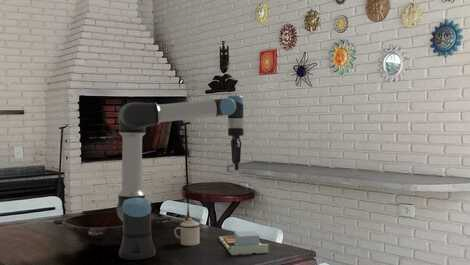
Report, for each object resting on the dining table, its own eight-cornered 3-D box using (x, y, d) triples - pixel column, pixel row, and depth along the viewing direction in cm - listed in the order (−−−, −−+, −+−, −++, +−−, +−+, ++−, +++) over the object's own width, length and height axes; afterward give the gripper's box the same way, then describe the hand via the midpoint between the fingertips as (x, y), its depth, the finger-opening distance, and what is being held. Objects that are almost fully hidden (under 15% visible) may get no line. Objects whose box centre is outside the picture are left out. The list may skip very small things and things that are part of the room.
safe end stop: (231, 254, 213) (231, 246, 213) (267, 251, 216) (267, 243, 216) (231, 255, 212) (231, 246, 212) (268, 252, 215) (268, 244, 215)
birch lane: (218, 238, 240) (218, 236, 240) (251, 236, 244) (251, 234, 244) (231, 254, 213) (231, 251, 213) (267, 251, 216) (267, 249, 216)
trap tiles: (224, 239, 239) (224, 238, 239) (247, 237, 242) (247, 237, 242) (227, 243, 232) (227, 242, 232) (251, 241, 234) (251, 241, 234)
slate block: (234, 248, 223) (234, 232, 222) (254, 247, 225) (254, 230, 224) (239, 254, 214) (238, 236, 214) (259, 252, 216) (259, 235, 216)
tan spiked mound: (170, 228, 267) (170, 203, 267) (178, 224, 277) (178, 200, 276) (197, 229, 263) (196, 204, 262) (204, 225, 272) (203, 201, 272)
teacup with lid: (201, 241, 236) (201, 216, 236) (197, 246, 227) (197, 220, 227) (176, 240, 238) (176, 216, 237) (171, 245, 229) (171, 220, 228)
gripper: (246, 127, 236) (247, 177, 237) (240, 127, 249) (240, 174, 250) (230, 127, 235) (231, 178, 235) (225, 127, 247) (225, 175, 248)
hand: (236, 176), depth 243 cm, fingers closed
